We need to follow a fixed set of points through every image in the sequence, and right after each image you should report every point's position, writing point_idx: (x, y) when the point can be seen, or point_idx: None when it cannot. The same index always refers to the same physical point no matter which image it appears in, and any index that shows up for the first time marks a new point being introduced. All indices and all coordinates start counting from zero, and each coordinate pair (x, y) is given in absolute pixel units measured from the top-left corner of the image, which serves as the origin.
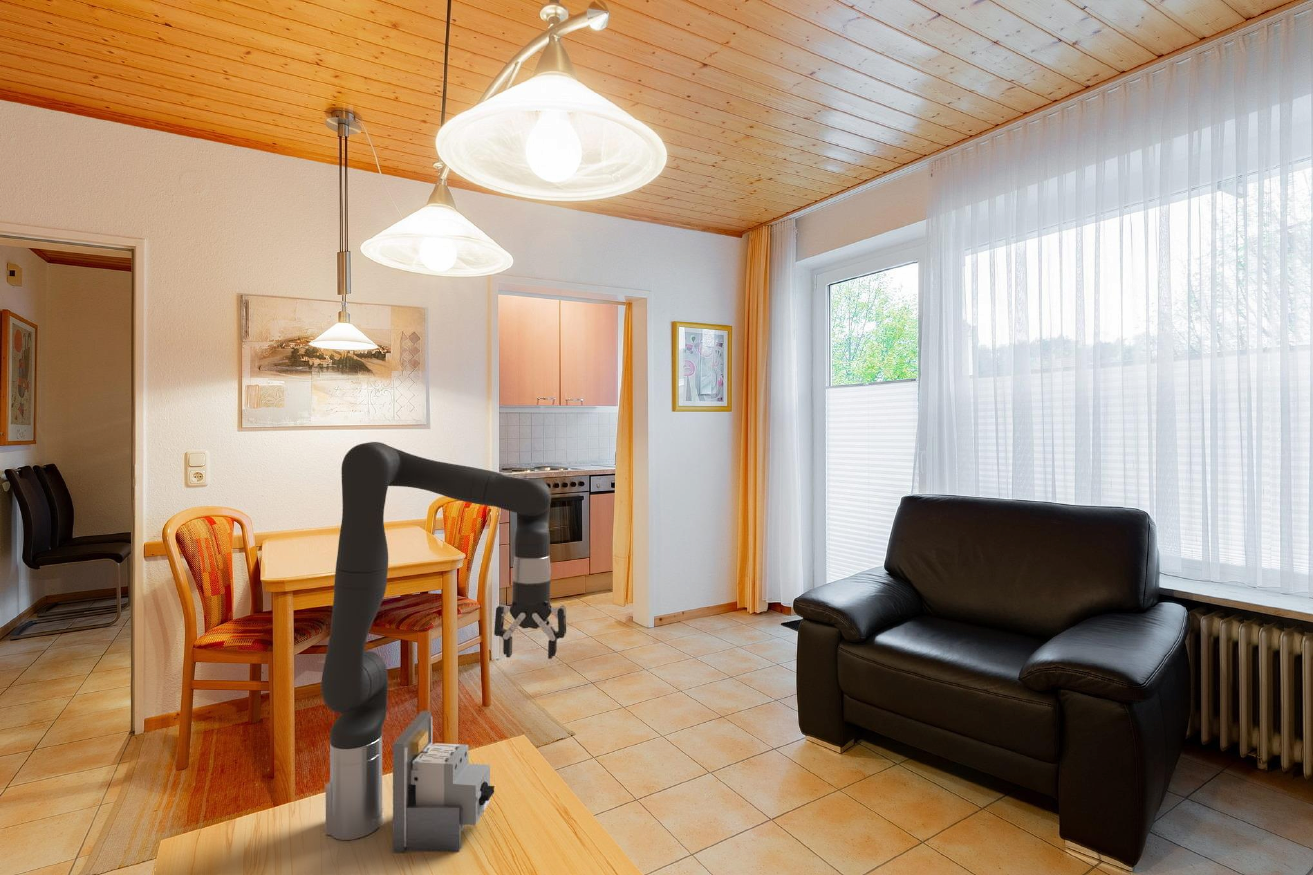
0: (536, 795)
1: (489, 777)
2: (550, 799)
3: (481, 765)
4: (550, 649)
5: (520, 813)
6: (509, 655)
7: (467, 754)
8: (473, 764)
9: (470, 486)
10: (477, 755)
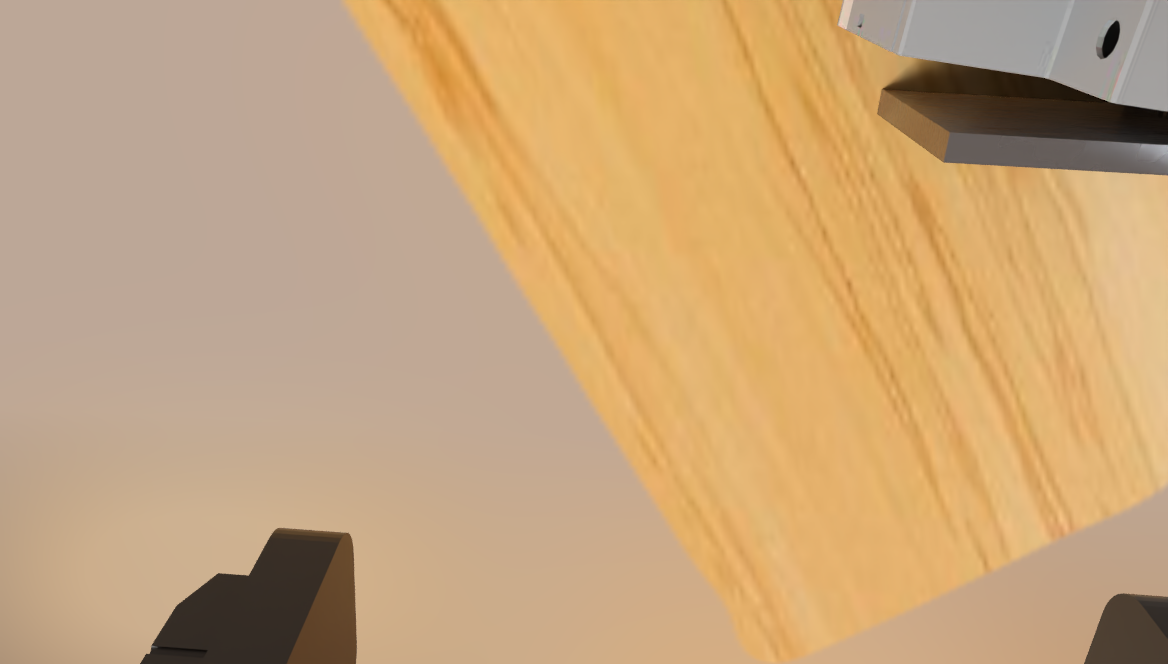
0: (609, 226)
1: (877, 35)
2: (536, 188)
3: (955, 48)
4: (235, 650)
5: (669, 74)
6: (1139, 614)
7: (1086, 72)
8: (1011, 62)
9: None
10: (930, 565)
